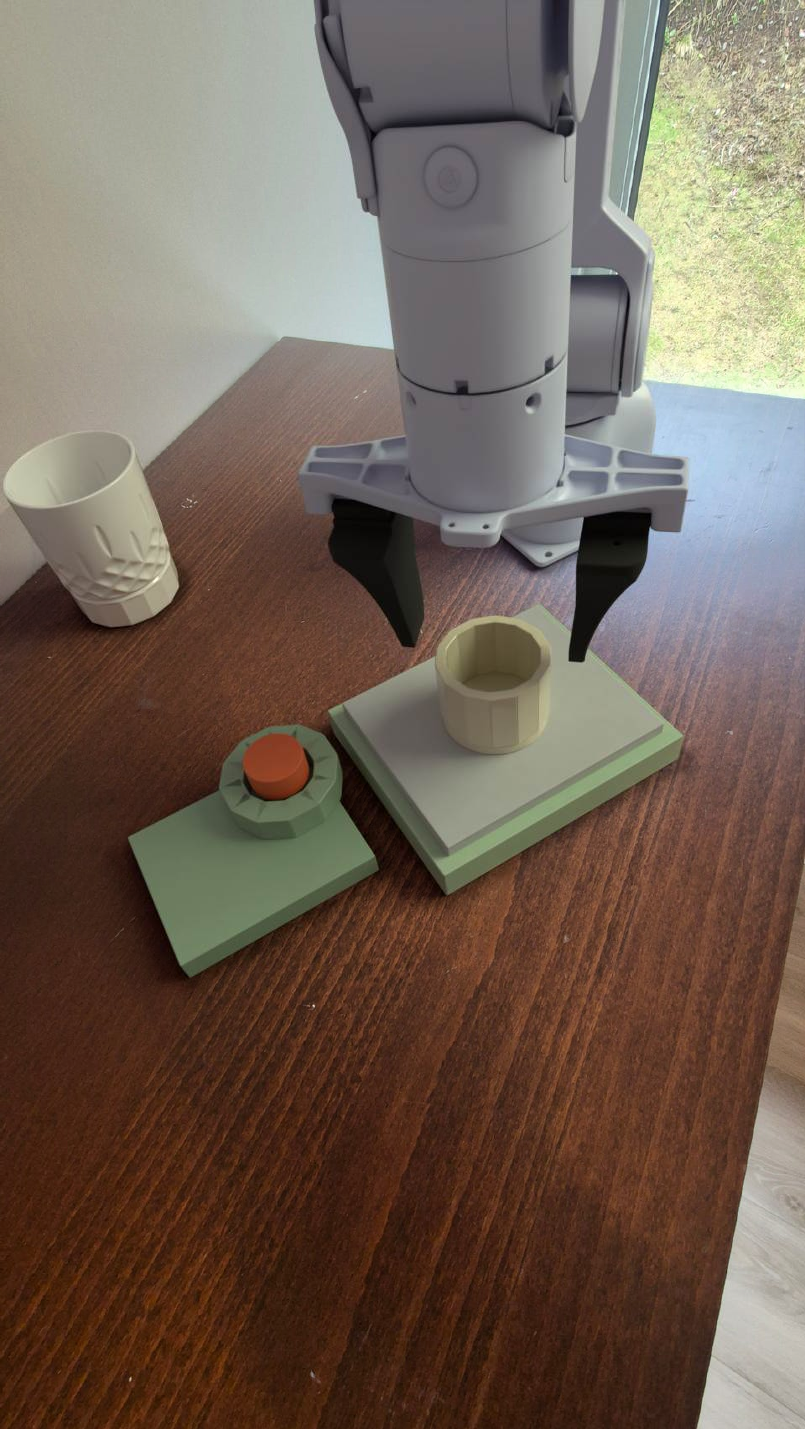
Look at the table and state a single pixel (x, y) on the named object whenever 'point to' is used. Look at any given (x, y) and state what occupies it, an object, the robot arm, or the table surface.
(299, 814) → the block
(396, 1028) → the table surface
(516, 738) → the beige cup
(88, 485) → the white cup
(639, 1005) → the table surface
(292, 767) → the button
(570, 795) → the scale
